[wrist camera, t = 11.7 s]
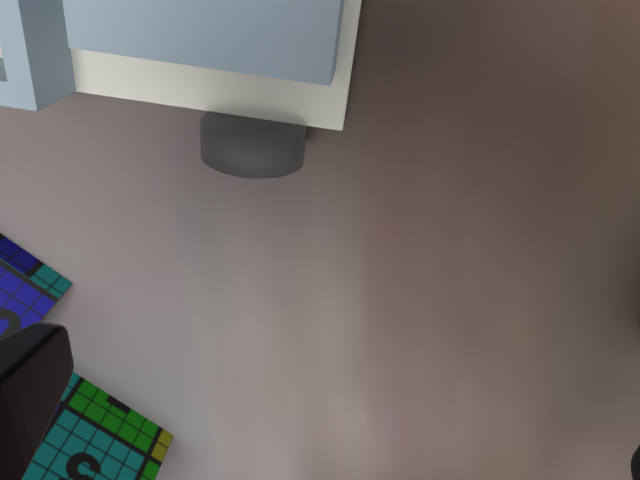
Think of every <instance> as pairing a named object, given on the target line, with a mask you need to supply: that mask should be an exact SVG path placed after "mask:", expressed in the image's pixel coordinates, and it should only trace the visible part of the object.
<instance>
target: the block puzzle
mask: <svg viewBox="0 0 640 480" xmlns="http://www.w3.org/2000/svg"><path fill="white" fill-rule="evenodd" d="M71 285H72V283H71V282H70V281H68V280H67V279H65V278H64V277H63V276H61V275H60V274H58V273H57V272H55V271H54V270H52V269H51V268H49V267H48V266H47V265H45V264H44V263H42V262H41V261H39V260H38V259H36V258H35V257H34V256H32V255H31V254H29V253H28V252H26V251H25V250H23V249H22V248H21V247H19V246H18V245H16V244H15V243H13V242H12V241H10V240H9V239H8V238H6V237H5V236H3V235H2V234H0V340H1V339H3V338H5V337H7V336H9V335H11V334H13V333H15V332H17V331H19V330H21V329H23V328H25V327H27V326H29V325H31V324H33V323H35V322H41V321H42V320H43V319H44V317H45V316H46V315H47V314H48V313H49V311H50V310H51V309H52V308H53V306H54V305H55V304H56V303H57V302H58V300H59V299H60V298H61V297H62V296H63V294H64V293H65V292H66V291H67V290H68V288H69V287H70V286H71ZM172 437H173V435H172V434H170V433H168V432H167V431H165V430H164V429H162V428H161V427H159V426H157V425H156V424H154V423H153V422H151V421H150V420H148V419H146V418H145V417H143V416H142V415H140V414H139V413H137V412H135V411H134V410H132V409H131V408H129V407H128V406H126V405H124V404H123V403H121V402H120V401H118V400H116V399H115V398H113V397H112V396H110V395H109V394H107V393H105V392H104V391H102V390H101V389H99V388H98V387H96V386H94V385H93V384H91V383H90V382H88V381H87V380H85V379H83V378H82V377H80V376H79V375H77V374H76V373H74V372H73V373H72V377H71V379H70V382H69V384H68V386H67V388H66V390H65V392H64V394H63V396H62V398H61V401H60V403H59V405H58V407H57V409H56V411H55V413H54V415H53V417H52V420H51V422H50V424H49V426H48V428H47V430H46V432H45V434H44V436H43V439H42V441H41V443H40V445H39V447H38V449H37V451H36V453H35V455H34V457H33V459H32V461H31V463H30V465H29V467H28V469H27V471H26V473H25V475H24V476H23V478H22V480H155V478H156V475H157V473H158V471H159V468H160V466H161V464H162V461H163V459H164V456H165V454H166V452H167V449H168V447H169V445H170V442H171V440H172Z"/></svg>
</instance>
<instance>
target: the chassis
mask: <svg viewBox="0 0 640 480" xmlns="http://www.w3.org/2000/svg"><path fill="white" fill-rule="evenodd" d="M361 3H362V0H0V106H6V107H13V108H19V109H26V110H33V111H39V110H40V109H42V108H44V107H46V106H48V105H50V104H52V103H54V102H56V101H58V100H60V99H62V98H64V97H66V96H68V95H70V94H72V93H74V92H83V93H90V94H97V95H103V96H110V97H117V98H123V99H130V100H137V101H144V102H150V103H157V104H164V105H171V106H177V107H184V108H191V109H198V110H204V111H211V112H208V113H207V114H205V115H204V116H203V117H202V118H201V158H202V160H203V161H204V163H205V164H207V165H208V166H209V167H211V168H213V169H215V170H217V171H220V172H222V173H225V174H229V175H233V176H238V177H245V178H275V177H281V176H285V175H288V174H291V173H293V172H295V171H297V170H298V169H300V168H301V167H302V165H303V160H304V150H305V141H306V131H307V128H306V126H312V127H319V128H326V129H332V130H339V131H342V130H343V125H344V120H345V114H346V107H347V100H348V93H349V86H350V79H351V72H352V65H353V58H354V51H355V44H356V37H357V30H358V23H359V17H360V10H361Z"/></svg>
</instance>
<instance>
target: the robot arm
mask: <svg viewBox="0 0 640 480" xmlns="http://www.w3.org/2000/svg"><path fill="white" fill-rule="evenodd" d="M73 367H74V364H73V357H72V352H71V346H70V341H69V336H68V331H67V329H66V328H65V327H64V326H62V325H59V324H53V323H47V322H35V323H33V324H31V325H29V326H27V327H25V328H23V329H21V330H19V331H17V332H15V333H13V334H11V335H9V336H7V337H5V338H3V339H1V340H0V480H22V478H23V476H24V475H25V473H26V471H27V469H28V467H29V465H30V463H31V461H32V459H33V457H34V455H35V453H36V451H37V449H38V447H39V445H40V443H41V441H42V439H43V436H44V434H45V432H46V430H47V428H48V426H49V424H50V422H51V420H52V417H53V415H54V413H55V411H56V409H57V407H58V405H59V403H60V401H61V398H62V396H63V394H64V392H65V390H66V388H67V386H68V384H69V382H70V379H71V377H72V373H73ZM631 473H632V478H633V480H640V445H639V447H638V448H637V450H636V451H635V452H634V454H633V456H632V460H631Z"/></svg>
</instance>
